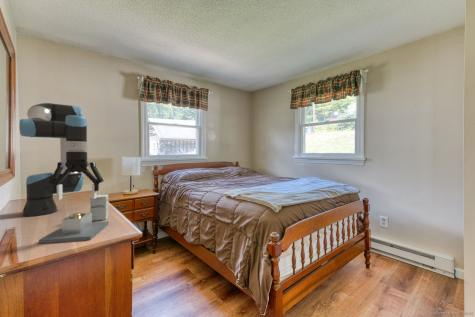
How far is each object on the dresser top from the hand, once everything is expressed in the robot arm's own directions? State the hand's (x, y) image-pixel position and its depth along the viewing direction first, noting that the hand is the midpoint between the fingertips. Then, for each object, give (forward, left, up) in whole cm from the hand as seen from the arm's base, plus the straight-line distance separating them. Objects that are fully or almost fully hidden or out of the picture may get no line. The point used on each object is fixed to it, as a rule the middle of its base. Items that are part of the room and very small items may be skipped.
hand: (77, 199), depth 96 cm
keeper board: (0, 0, -15) cm, 15 cm away
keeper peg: (0, 0, -14) cm, 14 cm away
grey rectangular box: (0, 0, -14) cm, 14 cm away
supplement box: (-21, +1, -15) cm, 26 cm away
